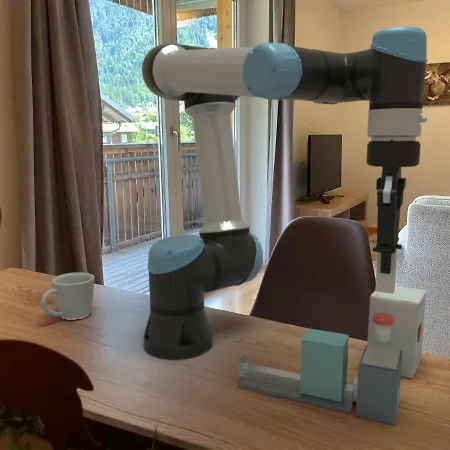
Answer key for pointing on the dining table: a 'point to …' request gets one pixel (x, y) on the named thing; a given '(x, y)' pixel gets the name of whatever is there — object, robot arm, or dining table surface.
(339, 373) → the carriage
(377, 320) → the plunger
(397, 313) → the supplement box
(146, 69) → the robot arm
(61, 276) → the mug
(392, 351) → the grey button housing
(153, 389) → the dining table surface
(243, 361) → the rail
